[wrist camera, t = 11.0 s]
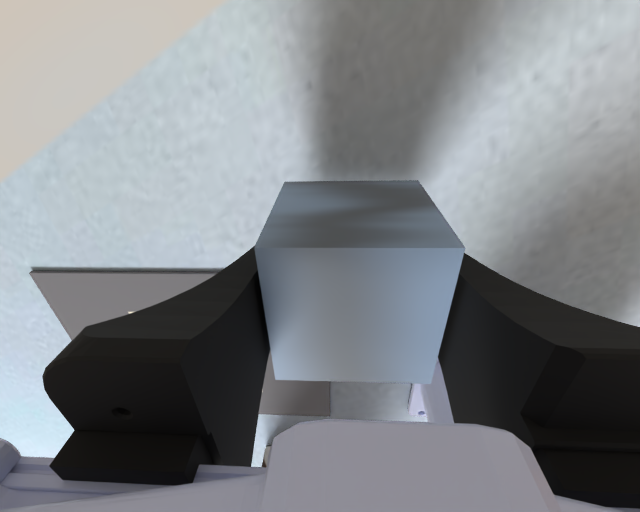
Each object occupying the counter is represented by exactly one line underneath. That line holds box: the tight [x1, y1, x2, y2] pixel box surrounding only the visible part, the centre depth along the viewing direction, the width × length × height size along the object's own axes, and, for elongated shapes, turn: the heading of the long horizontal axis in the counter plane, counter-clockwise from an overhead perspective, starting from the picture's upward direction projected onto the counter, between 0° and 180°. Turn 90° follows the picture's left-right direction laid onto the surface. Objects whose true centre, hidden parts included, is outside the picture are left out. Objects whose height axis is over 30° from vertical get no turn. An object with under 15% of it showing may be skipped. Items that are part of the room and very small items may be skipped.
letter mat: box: [29, 271, 330, 416], centre depth 22 cm, size 18×14×1 cm
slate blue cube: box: [254, 180, 465, 384], centre depth 11 cm, size 5×5×5 cm
